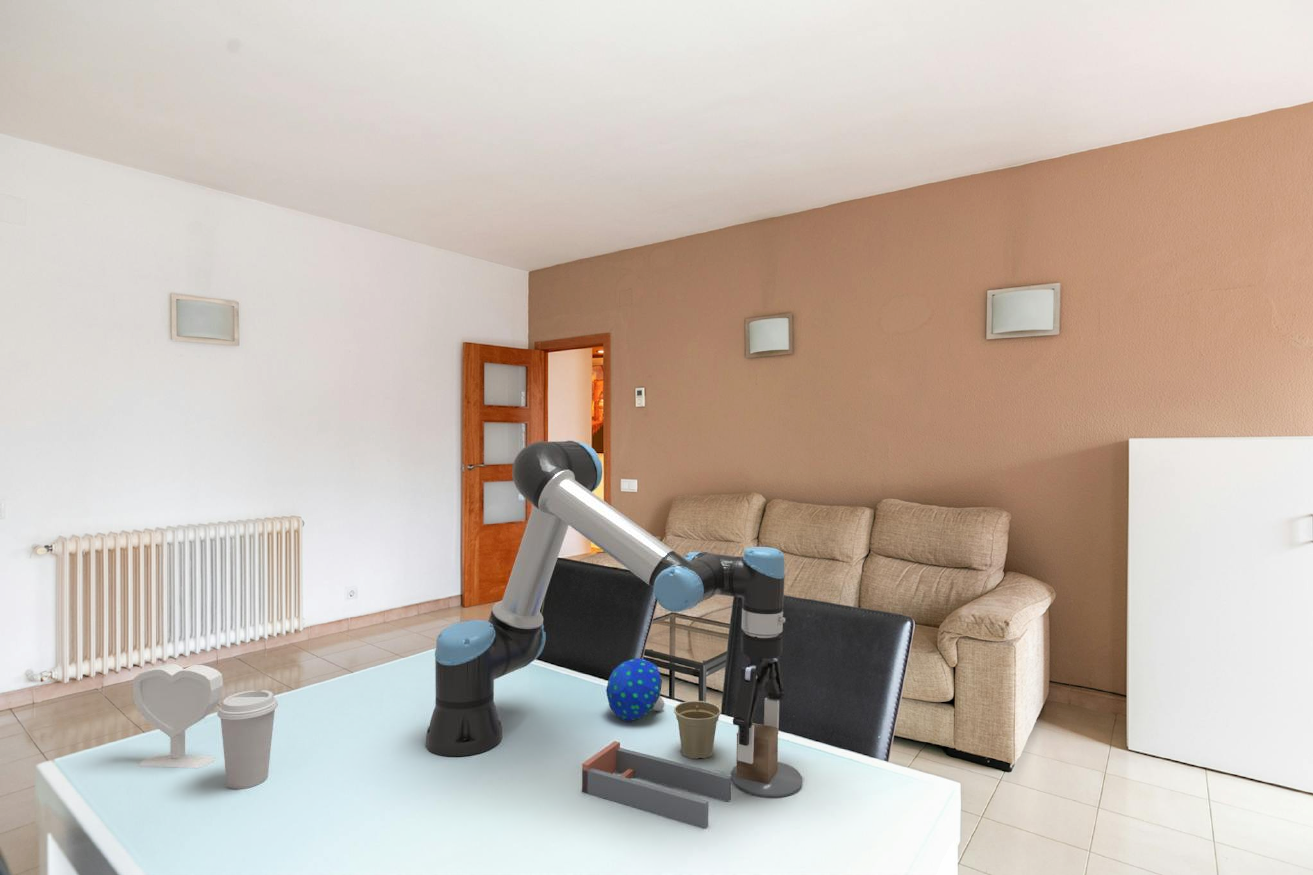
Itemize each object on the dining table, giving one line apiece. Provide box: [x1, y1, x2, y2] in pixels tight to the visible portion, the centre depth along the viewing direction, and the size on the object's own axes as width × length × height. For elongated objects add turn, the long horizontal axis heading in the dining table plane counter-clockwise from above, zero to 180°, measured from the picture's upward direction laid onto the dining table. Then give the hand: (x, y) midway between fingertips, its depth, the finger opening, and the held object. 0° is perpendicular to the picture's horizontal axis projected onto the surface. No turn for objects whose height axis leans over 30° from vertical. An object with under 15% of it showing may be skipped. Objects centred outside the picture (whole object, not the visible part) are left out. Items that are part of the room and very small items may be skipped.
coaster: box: [730, 761, 803, 799], centre depth 131 cm, size 13×13×1 cm
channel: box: [581, 740, 732, 830], centre depth 125 cm, size 24×11×5 cm, turn 61°
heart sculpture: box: [132, 663, 224, 769], centre depth 136 cm, size 16×5×18 cm, turn 87°
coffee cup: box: [216, 689, 279, 790], centre depth 129 cm, size 10×10×15 cm
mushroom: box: [605, 657, 665, 722], centre depth 161 cm, size 14×14×15 cm
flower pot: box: [673, 700, 722, 760], centre depth 142 cm, size 9×9×9 cm
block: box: [736, 722, 779, 784], centre depth 132 cm, size 6×6×8 cm
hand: (758, 746), depth 131 cm, fingers open, 13 cm apart
